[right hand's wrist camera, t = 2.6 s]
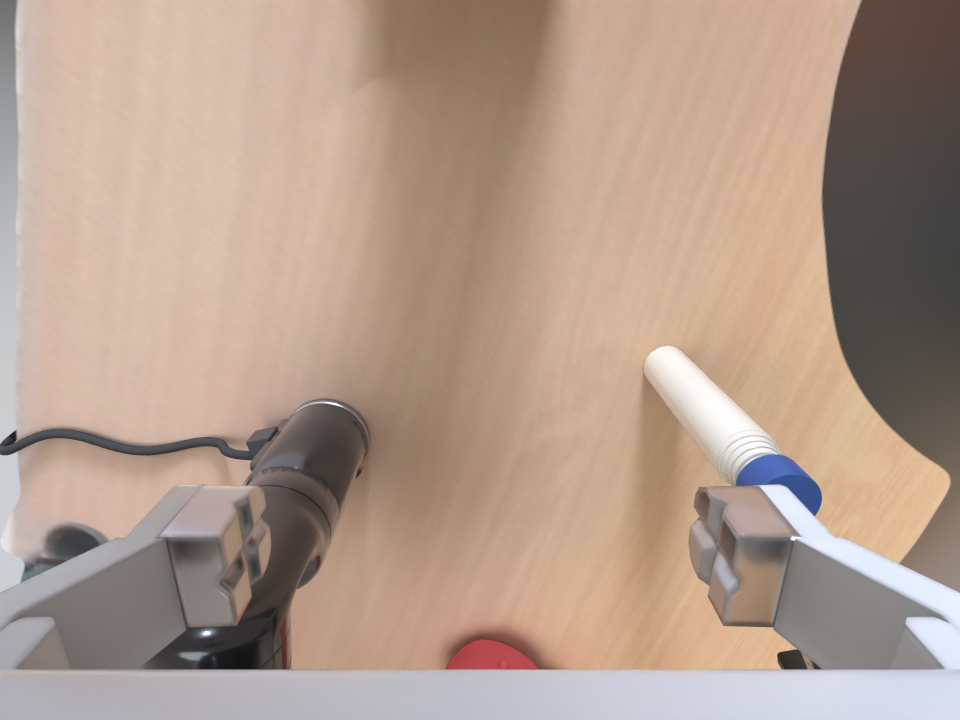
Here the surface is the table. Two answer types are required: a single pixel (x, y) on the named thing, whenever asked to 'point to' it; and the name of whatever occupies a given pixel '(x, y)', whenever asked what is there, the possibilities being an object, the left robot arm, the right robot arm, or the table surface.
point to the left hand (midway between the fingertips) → (785, 616)
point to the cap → (782, 478)
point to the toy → (490, 657)
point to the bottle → (707, 413)
